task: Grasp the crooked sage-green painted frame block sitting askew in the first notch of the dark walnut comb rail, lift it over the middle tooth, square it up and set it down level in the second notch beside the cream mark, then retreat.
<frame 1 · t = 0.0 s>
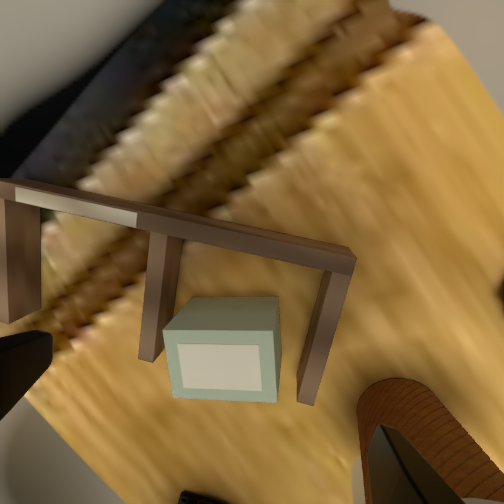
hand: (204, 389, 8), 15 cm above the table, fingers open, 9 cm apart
walnut comb rail: (169, 286, 24), on the table
disposable coffee cup: (396, 410, 23), on the table
frame block: (237, 325, 24), on the table
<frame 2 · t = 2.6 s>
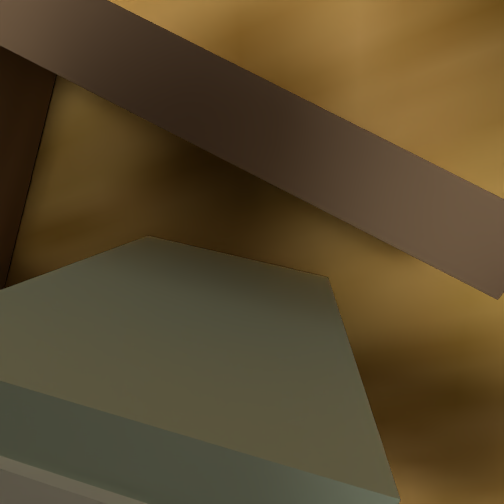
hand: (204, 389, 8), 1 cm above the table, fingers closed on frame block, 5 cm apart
walnut comb rail: (97, 465, 10), on the table
frame block: (214, 365, 9), on the table, touching gripper
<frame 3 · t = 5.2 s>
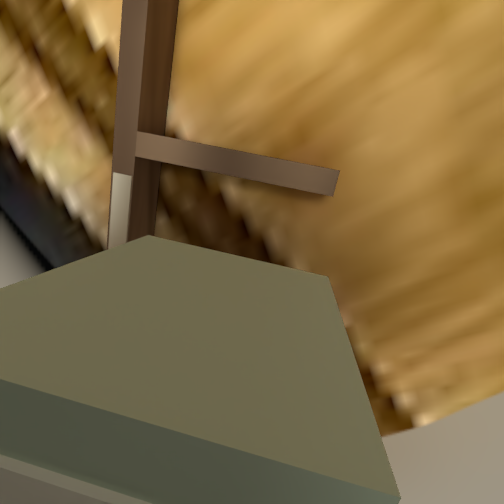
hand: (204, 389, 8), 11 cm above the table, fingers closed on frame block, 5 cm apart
walnut comb rail: (243, 166, 17), on the table
frame block: (214, 365, 9), point 10 cm above the table, touching gripper
when the fingers open (2 cm above the table, at t = 7.9 s): frame block drops 1 cm, on the table.
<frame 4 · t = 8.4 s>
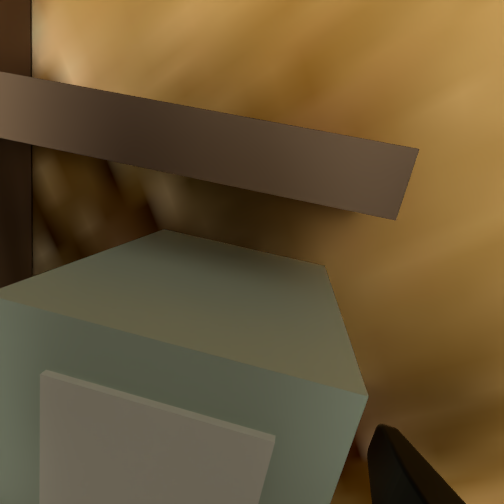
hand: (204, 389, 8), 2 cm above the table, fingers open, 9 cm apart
walnut comb rail: (189, 148, 8), on the table
frame block: (223, 345, 10), on the table
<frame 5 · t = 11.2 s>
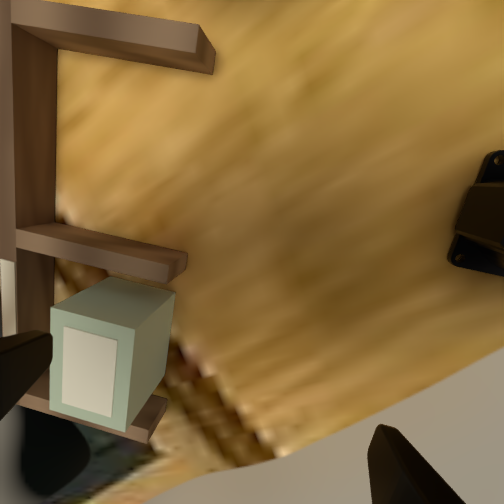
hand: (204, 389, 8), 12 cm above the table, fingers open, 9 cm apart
walnut comb rail: (118, 245, 20), on the table
frame block: (139, 326, 22), on the table
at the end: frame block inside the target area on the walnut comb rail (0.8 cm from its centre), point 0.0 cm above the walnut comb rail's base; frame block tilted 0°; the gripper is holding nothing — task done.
